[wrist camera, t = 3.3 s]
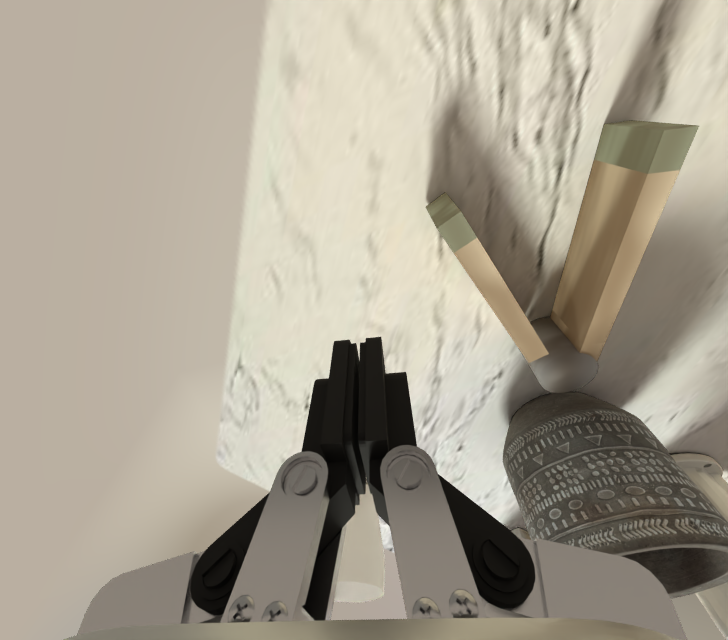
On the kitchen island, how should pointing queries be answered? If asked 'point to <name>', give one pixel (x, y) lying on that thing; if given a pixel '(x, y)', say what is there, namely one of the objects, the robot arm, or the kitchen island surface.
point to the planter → (613, 491)
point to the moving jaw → (485, 275)
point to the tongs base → (608, 245)
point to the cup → (362, 556)
